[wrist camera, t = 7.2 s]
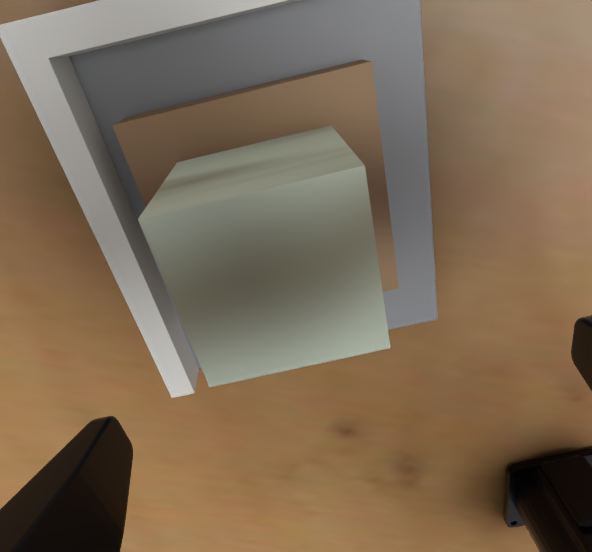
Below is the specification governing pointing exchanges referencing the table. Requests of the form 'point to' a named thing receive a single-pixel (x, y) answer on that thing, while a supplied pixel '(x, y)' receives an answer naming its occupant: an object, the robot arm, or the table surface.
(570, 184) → the table surface
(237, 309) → the cube on wooden base
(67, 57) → the dock
